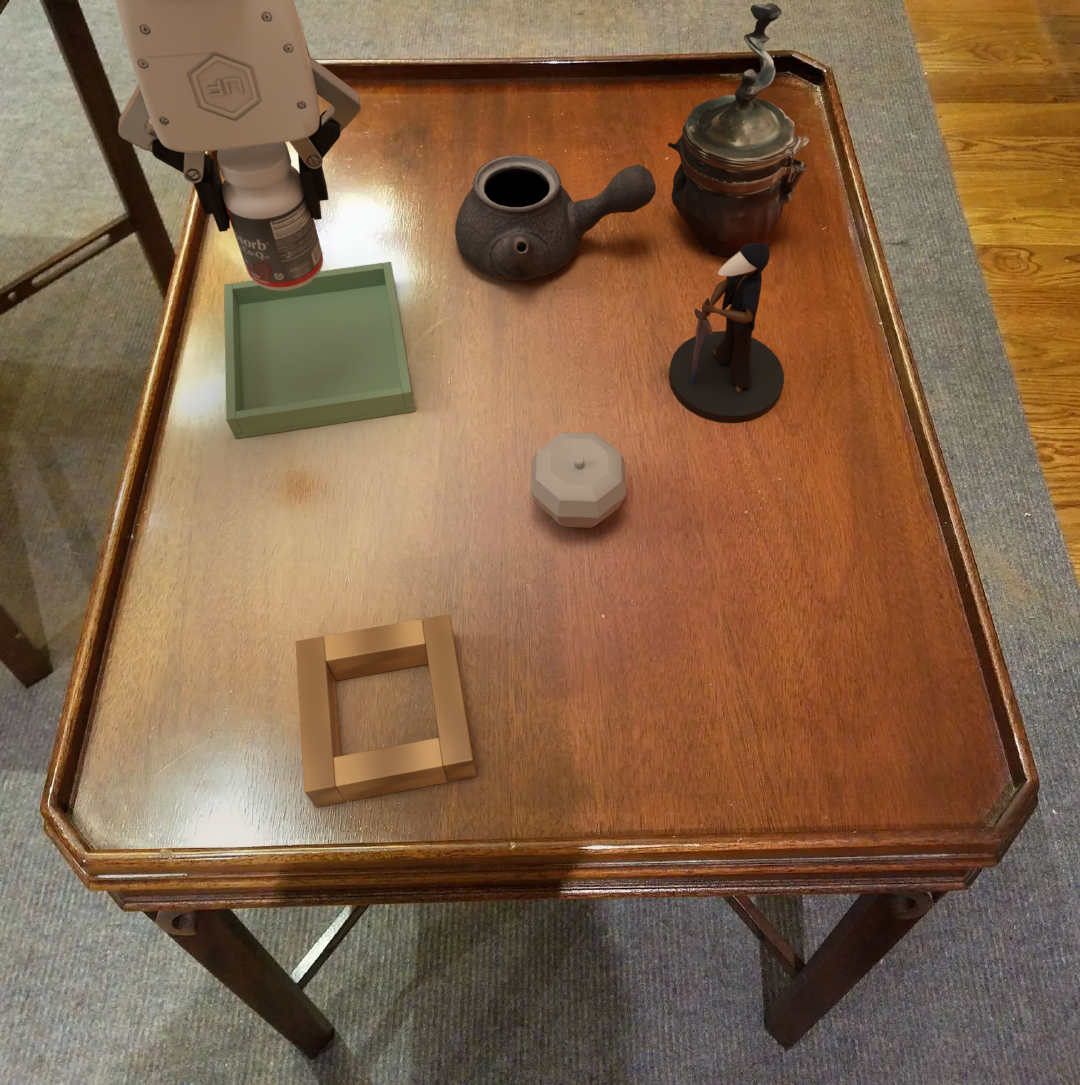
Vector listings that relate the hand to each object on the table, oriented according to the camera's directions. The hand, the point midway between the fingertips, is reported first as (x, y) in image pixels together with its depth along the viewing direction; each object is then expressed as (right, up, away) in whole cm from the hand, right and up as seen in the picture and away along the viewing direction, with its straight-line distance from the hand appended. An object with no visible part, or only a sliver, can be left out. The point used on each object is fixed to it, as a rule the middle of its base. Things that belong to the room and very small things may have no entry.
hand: (270, 210), depth 65 cm
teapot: (+20, +5, +26) cm, 33 cm away
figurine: (+36, -9, +17) cm, 41 cm away
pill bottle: (0, -3, +5) cm, 5 cm away
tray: (-1, -6, +19) cm, 20 cm away
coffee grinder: (+38, +9, +29) cm, 48 cm away
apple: (+22, -21, +10) cm, 32 cm away
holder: (+8, -36, 0) cm, 37 cm away
